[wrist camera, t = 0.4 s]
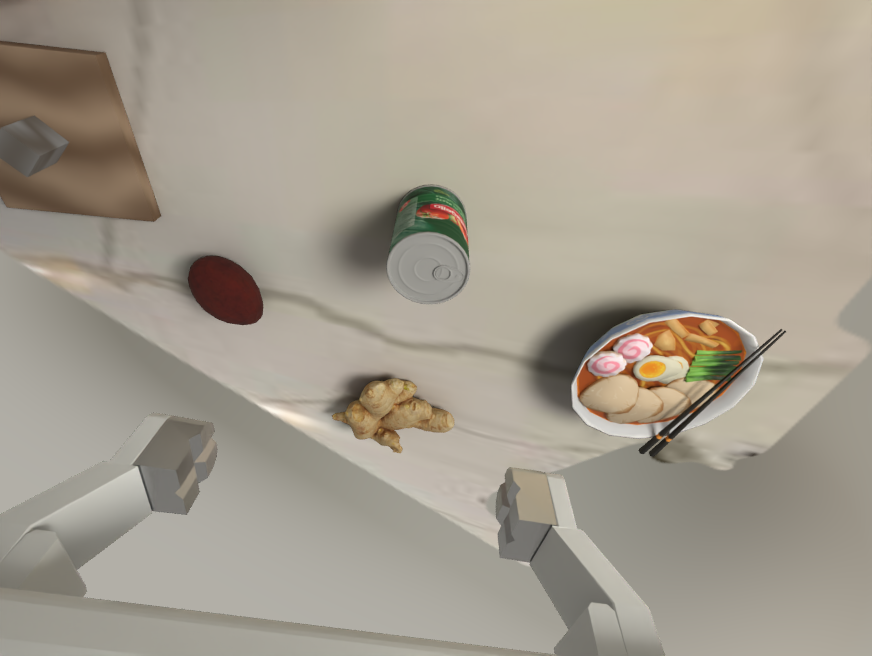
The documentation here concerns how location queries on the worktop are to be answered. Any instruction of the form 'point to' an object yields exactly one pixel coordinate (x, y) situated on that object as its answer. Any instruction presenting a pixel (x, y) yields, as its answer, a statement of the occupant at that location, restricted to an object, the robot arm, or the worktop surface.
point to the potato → (225, 290)
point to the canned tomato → (429, 246)
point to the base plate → (68, 136)
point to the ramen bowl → (665, 375)
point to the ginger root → (392, 413)
